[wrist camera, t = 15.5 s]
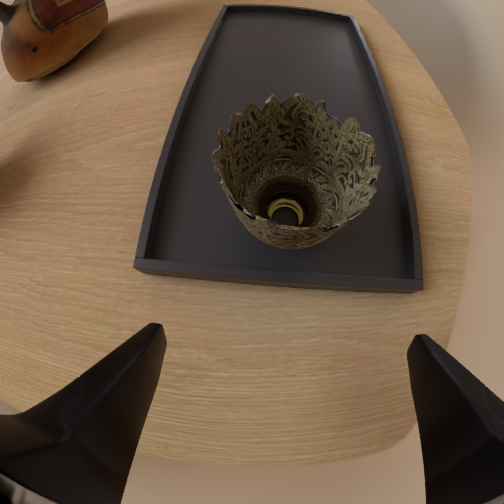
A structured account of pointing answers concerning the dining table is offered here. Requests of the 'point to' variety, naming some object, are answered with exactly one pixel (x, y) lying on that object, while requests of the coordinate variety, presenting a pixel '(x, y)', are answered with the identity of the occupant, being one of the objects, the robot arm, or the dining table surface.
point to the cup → (295, 170)
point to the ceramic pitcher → (47, 34)
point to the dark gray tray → (253, 249)
